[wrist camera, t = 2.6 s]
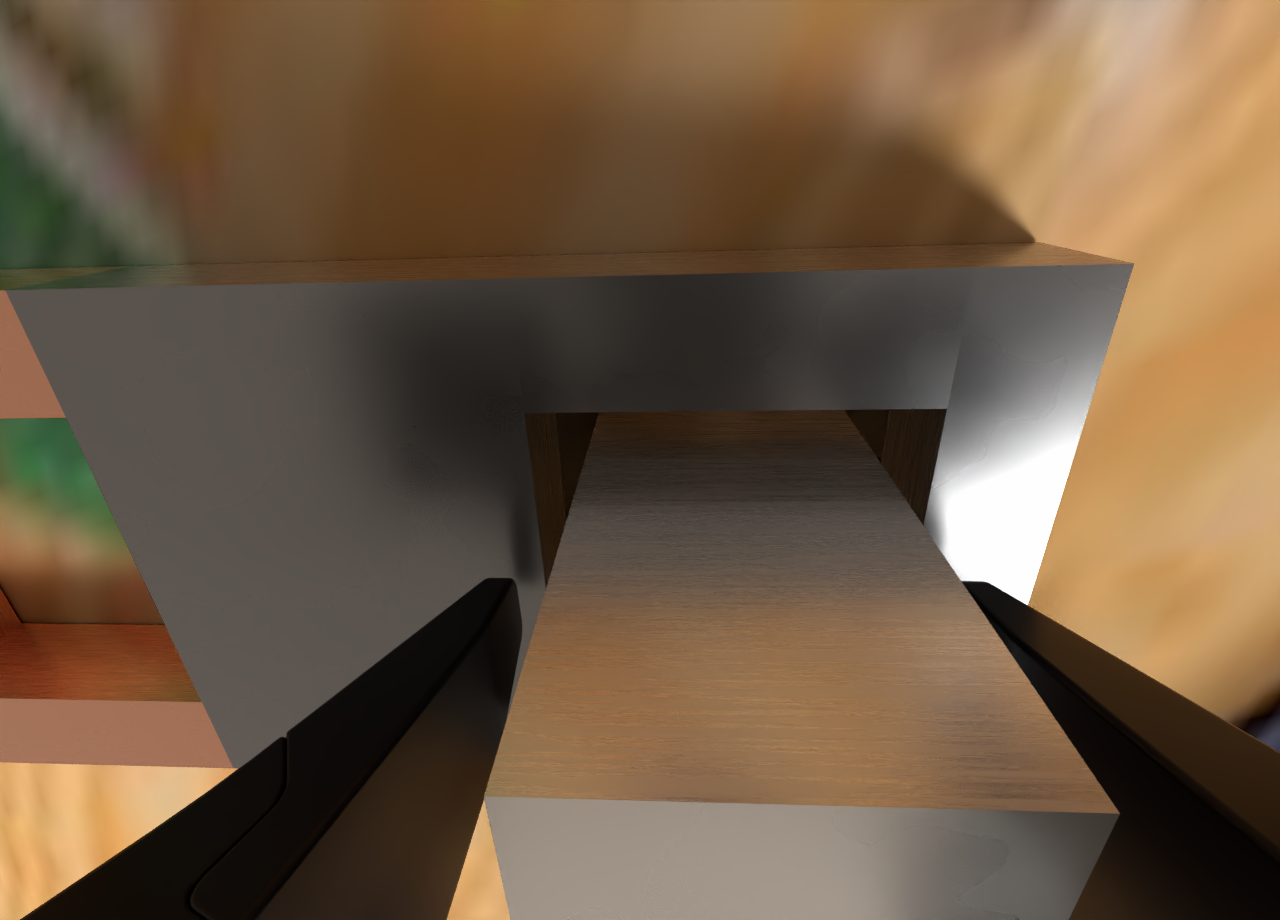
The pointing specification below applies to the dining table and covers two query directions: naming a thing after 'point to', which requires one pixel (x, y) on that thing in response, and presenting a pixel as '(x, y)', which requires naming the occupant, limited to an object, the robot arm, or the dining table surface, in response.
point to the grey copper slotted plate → (480, 442)
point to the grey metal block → (774, 700)
